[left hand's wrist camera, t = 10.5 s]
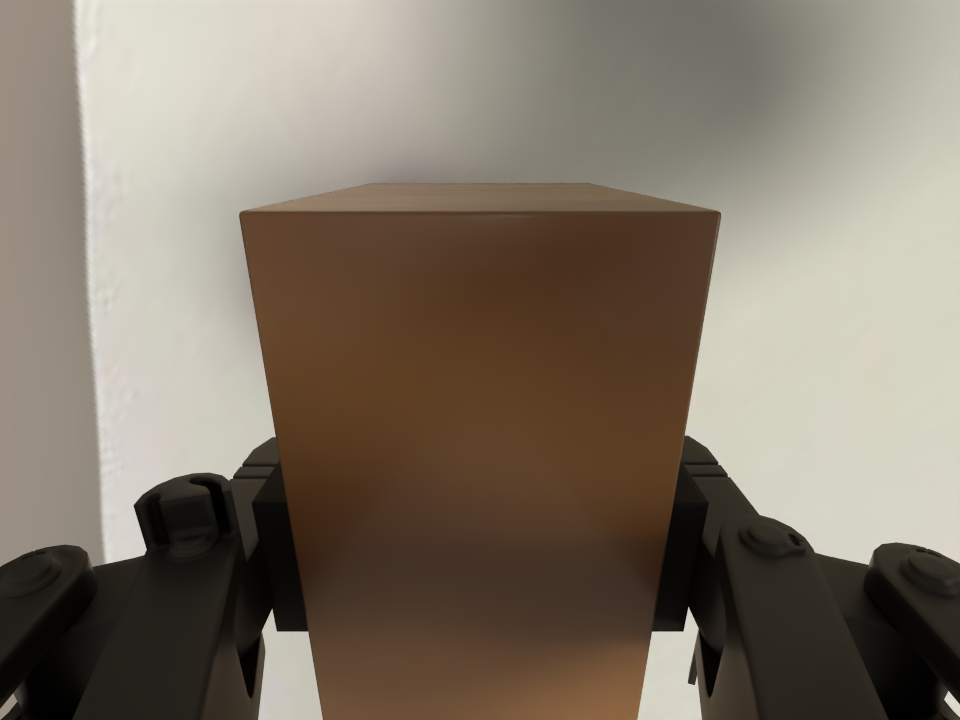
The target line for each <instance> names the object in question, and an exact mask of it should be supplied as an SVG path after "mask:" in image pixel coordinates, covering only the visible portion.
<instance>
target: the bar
mask: <svg viewBox="0 0 960 720" xmlns="http://www.w3.org/2000/svg"><path fill="white" fill-rule="evenodd" d="M239 218H240V224H241V230H242V236H243V242H244V248H245V254H246V260H247V266H248V272H249V278H250V284H251V290H252V296H253V302H254V308H255V314H256V320H257V326H258V332H259V338H260V344H261V350H262V356H263V362H264V368H265V374H266V380H267V386H268V392H269V398H270V404H271V410H272V416H273V422H274V428H275V434H276V440H277V446H278V452H279V458H280V464H281V470H282V476H283V482H284V488H285V494H286V500H287V506H288V512H289V518H290V524H291V530H292V536H293V542H294V548H295V554H296V560H297V566H298V572H299V578H300V584H301V590H302V596H303V602H304V608H305V614H306V620H307V626H308V632H309V638H310V644H311V650H312V656H313V662H314V668H315V674H316V680H317V686H318V692H319V698H320V704H321V710H322V716H323V720H637V718H638V712H639V706H640V700H641V694H642V688H643V682H644V676H645V670H646V664H647V658H648V652H649V646H650V640H651V634H652V628H653V622H654V616H655V610H656V604H657V598H658V592H659V586H660V580H661V574H662V568H663V562H664V556H665V550H666V544H667V538H668V531H669V525H670V519H671V513H672V507H673V501H674V495H675V489H676V483H677V477H678V471H679V465H680V459H681V453H682V447H683V441H684V435H685V429H686V423H687V417H688V411H689V405H690V399H691V393H692V387H693V381H694V375H695V369H696V363H697V357H698V351H699V345H700V339H701V333H702V327H703V321H704V315H705V309H706V303H707V297H708V291H709V285H710V279H711V273H712V267H713V261H714V255H715V249H716V243H717V237H718V231H719V225H720V219H721V213H720V212H719V211H716V210H711V209H706V208H702V207H697V206H692V205H688V204H683V203H678V202H673V201H669V200H664V199H659V198H655V197H650V196H645V195H641V194H636V193H631V192H627V191H622V190H617V189H613V188H608V187H603V186H598V185H594V184H589V183H371V184H367V185H362V186H357V187H353V188H348V189H343V190H338V191H334V192H329V193H324V194H320V195H315V196H310V197H306V198H301V199H296V200H292V201H287V202H282V203H278V204H273V205H268V206H263V207H259V208H254V209H249V210H245V211H242V212H240V214H239Z"/></svg>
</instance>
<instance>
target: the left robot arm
mask: <svg viewBox="0 0 960 720" xmlns="http://www.w3.org/2000/svg"><path fill="white" fill-rule="evenodd" d="M134 509H135V512H136V515H137V518H138V522H139V525H140V528H141V532H142V535H143V538H144V542H145V545H146V548H147V551H146V553H145V555H144V556H140V557H136V558H132V559H128V560H123V561H118V562H114V563H109V564H105V565H100V566H95V567H92V564H91V562H90V559H89V556H88V553H87V552H86V551H84V550H83V549H82V548H81V547H79V546H71V545H59V546H52V547H46V548H42V549H39V550H36V551H32V552H29V553H27V554H24V555H22V556H20V557H18V558H16V559H14V560H12V561H10V562H8V563H6V564H4V565H3V566H1V567H0V708H1V707H2V706H3V705H4V703H5V702H6V701H7V700H8V699H9V697H10V696H11V695H12V694H13V693H14V695H15V697H16V699H17V701H18V702H17V703H16V704H15V705H14V707H13V708H12V709H11V710H10V712H9V713H8V714H7V715H6V716H4V717H3V718H2V719H1V720H258V715H259V706H260V696H261V687H262V678H263V669H264V660H265V645H264V639H263V634H262V629H263V627H264V625H265V623H266V621H267V618H268V616H269V614H270V612H271V610H272V609H273V614H274V619H275V624H276V629H277V631H308V626H307V620H306V614H305V608H304V602H303V596H302V590H301V584H300V578H299V572H298V566H297V560H296V554H295V548H294V542H293V536H292V530H291V524H290V518H289V512H288V506H287V500H286V494H285V488H284V482H283V476H282V470H281V464H280V458H279V452H278V446H277V440H276V437H272V438H271V439H269V440H268V441H266V442H265V443H263V444H262V445H260V446H259V447H257V448H255V449H254V450H253V451H252V452H251V454H250V455H249V456H248V458H247V459H246V460H245V461H244V463H243V466H242V467H240V468H239V469H238V470H237V472H236V473H235V474H234V476H233V479H230V481H228V480H227V479H226V478H225V477H223V476H222V475H218V474H213V473H194V474H189V475H185V476H180V477H176V478H173V479H171V480H168V481H166V482H164V483H161V484H159V485H157V486H155V487H154V488H152V489H151V490H149V491H148V492H146V493H145V494H143V495H142V496H141V497H140V498H139V500H138V501H137V502H136V503H135V504H134ZM688 606H689V608H690V611H691V613H692V615H693V617H694V619H695V621H696V623H697V626H698V628H699V630H698V634H697V639H696V644H695V648H694V653H693V658H692V662H691V667H690V672H689V678H688V683H689V684H693V685H695V682H696V677H698V686H699V695H700V704H701V713H702V720H960V717H959V716H958V715H957V714H956V713H955V712H954V711H953V710H952V709H951V708H950V707H949V705H948V704H947V703H946V702H945V700H944V698H945V696H946V694H947V692H948V691H949V692H950V693H951V694H952V695H953V697H954V698H955V699H956V700H957V701H958V703H959V704H960V564H959V563H958V562H956V561H954V560H952V559H950V558H948V557H946V556H944V555H942V554H940V553H938V552H936V551H933V550H930V549H926V548H924V547H920V546H916V545H910V544H903V543H889V544H882V545H881V546H879V547H878V548H877V549H875V550H874V552H873V555H872V558H871V560H870V563H869V565H866V564H861V563H857V562H852V561H848V560H843V559H838V558H834V557H829V556H825V555H821V554H818V553H815V552H814V550H813V548H812V547H811V545H810V544H809V543H808V541H807V540H806V539H805V537H803V536H802V535H801V534H799V533H798V532H797V531H795V530H794V529H793V528H792V527H790V526H788V525H786V524H783V523H781V522H779V521H777V520H775V519H772V518H768V517H764V516H761V515H759V514H758V513H757V511H756V510H755V509H754V507H753V506H752V505H751V504H750V502H749V501H748V500H747V498H746V497H745V496H744V495H743V493H742V492H741V491H740V489H739V488H738V487H737V486H736V484H735V483H734V482H733V481H732V479H731V478H730V477H728V474H727V473H726V472H725V470H724V469H723V468H722V466H721V465H718V461H717V460H716V459H715V458H714V456H713V455H712V454H711V452H710V451H709V450H708V449H707V448H706V447H705V446H703V445H702V444H700V443H699V442H697V441H695V440H694V439H692V438H691V437H689V436H684V441H683V447H682V453H681V459H680V465H679V471H678V477H677V483H676V489H675V495H674V501H673V507H672V513H671V519H670V525H669V531H668V538H667V544H666V550H665V556H664V562H663V568H662V574H661V580H660V586H659V592H658V598H657V604H656V610H655V616H654V622H653V628H652V631H684V626H685V621H686V616H687V611H688Z"/></svg>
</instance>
